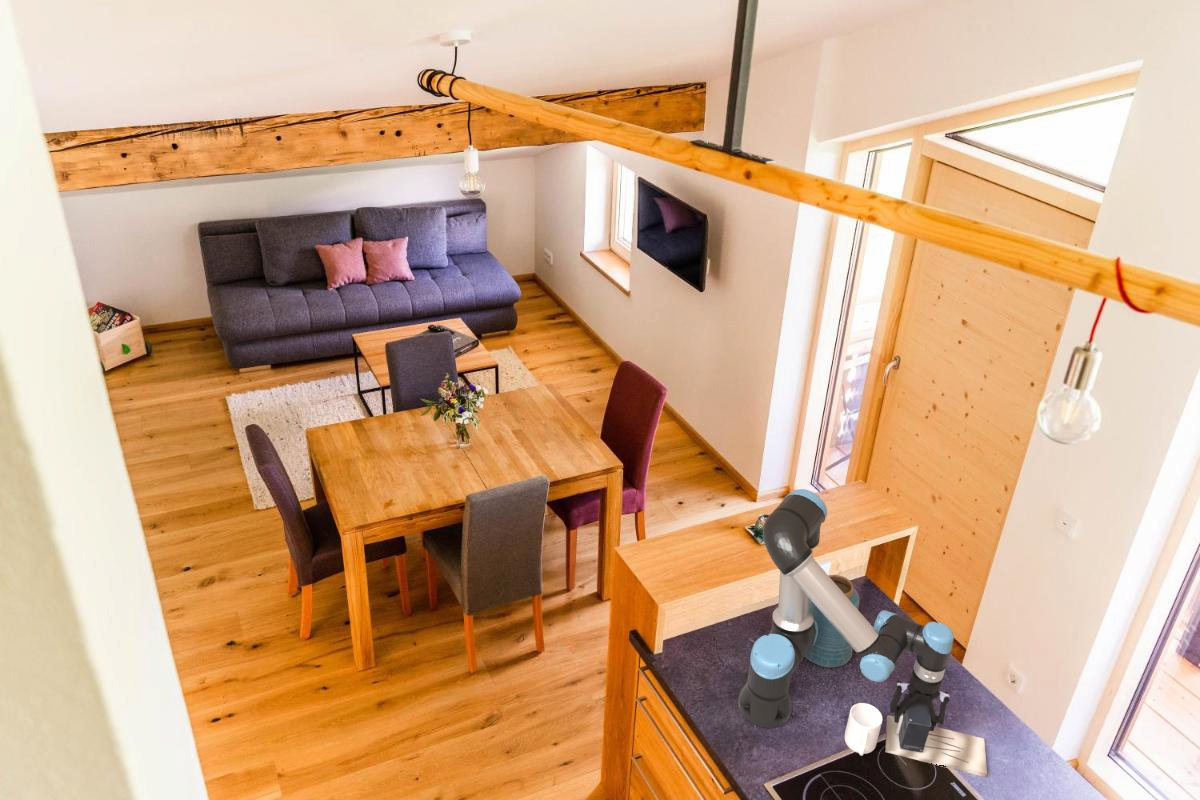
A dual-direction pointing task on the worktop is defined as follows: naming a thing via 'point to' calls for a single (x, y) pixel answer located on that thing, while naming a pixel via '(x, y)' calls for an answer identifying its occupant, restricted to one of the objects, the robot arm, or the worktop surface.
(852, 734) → the mug
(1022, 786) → the worktop surface
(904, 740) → the small box
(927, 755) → the board
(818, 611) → the vase
